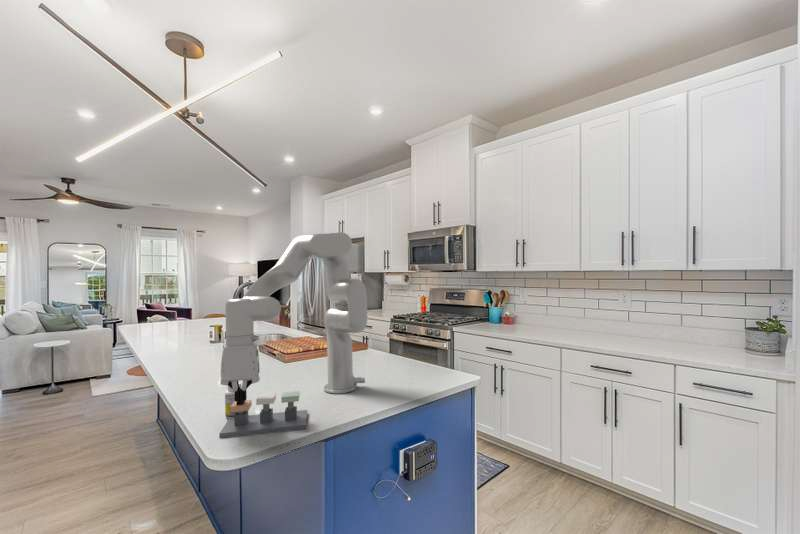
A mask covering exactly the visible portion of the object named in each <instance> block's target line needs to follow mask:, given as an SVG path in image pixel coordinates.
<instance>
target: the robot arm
mask: <svg viewBox="0 0 800 534" xmlns="http://www.w3.org/2000/svg"><path fill="white" fill-rule="evenodd" d="M352 248H353V241H352V239H351V237H350V236H349V234H347V233H346V232H330V233H329V232H327V233H312V234H310V233H309V234H303V235H302V234H301V235H299V236H296V237H294V239H292V241H291V242H290V243H289V245H288V246H287V247H286V249H285V251H284V252H283V254H281V257H279V259H278V260H277V262H276V263H275V265H274V266H273V267H271V268H270V269H269V270H267V271H266V272H265V273H264V274H263V275H261V276H260V277H259V278H257V280H255V281H254V282H253V283H252V284H251V285H250V286H249V288H248V289H247V290H246V292H245V294H244V295H243V297H242V298H231V299H228V300H227V301H226V302H225V345H224V346H223V349H222V354H221V362H220V385H222V386H227V387H228V386H229V387H231V388H232V389H233V391H235V401H237V405H239V404H241V405H243V403H244V402H245V401H246V400H248V398H247V389H248V388H249V387H250V386H251V385H252V384H256V383H259V382H260V381H261V377H260V370H261V369H260V355H259V349H258V344H257V342H256V341H259V340H260V336H259V335H255V332H254V328H255V327H254V326H255V325H254V322H270V321H274V320H275V319H276V318H278V317H279V315H280V314H281V312H282V306H281V305H282V304H281V303H280V301H279V300H278V299H276V298H275V297H272V296H271V295H272V294H274V293H275V292H277V291H278V290H280V289H282V288H285V287H287V286H289V285H291V284H293V283H294V282H296V281H297V280H298V279H299V278H300V276H301V274H302V273H303V271H304V270H305V268H306V266H307V265H308V263H309V262H310V261H311V260H316V259H320V260H321V261H322V262H323V264H324V266H325V267H324V268H325V275H326V277H325V278H326V294H327V295H326V296H327V299H328V300H329V301H330V302H331V303H334V304H347V306H333V307H330V308H328V310H327V311H326V312H325V313H324V316H323V324H324V329H325V333H326V343H327V345H326V346H327V347H326V348H327V349H326V350H327V352H326V353H327V354H326V355H327V384H325V385H324V386H323V391H324V392H326V393H329V394H335V395H336V394H346V393H350V392H354V391H355V390H356V389H357V388H358V385H357V384H365V383H366V379H365V377H361V376H358V377H355V376H354V370H353V369H354V368H353V367H354V366H353V340H352V337H351V335H350V334H351V333H353V334H359V333H362V332H363V331H364V330H365V329H366V328H367V324H368V299H367V297H368V295H367V293H368V292H367V287H366V286H365V284H364V282H363V281H362V280H360V279H358V278H350V277H349V265H348V261H347V260H346V258H345V257H344V256H346V255H349V253H350V252H351V251H352ZM255 342H256V343H255ZM240 381H242V383H241V388H240V387H239V382H240Z"/></svg>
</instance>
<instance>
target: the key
mask: <svg viewBox="0 0 800 534" xmlns="http://www.w3.org/2000/svg"><path fill="white" fill-rule="evenodd" d="M252 405H253V403H252V399H246V401H245V402H244V403H243V405H241V404H239V405H237V401H234V403H233V404H232V405H231V412H238V415H240V414H245V411H248V412H249V410H250V408H251V406H252Z"/></svg>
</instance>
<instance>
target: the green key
mask: <svg viewBox="0 0 800 534" xmlns="http://www.w3.org/2000/svg"><path fill="white" fill-rule="evenodd" d="M299 401H300V390H294V391H284V392H282V395H281V404H282V403H287V407H288V410H294V406H295V403H297V402H299ZM294 402H295V403H294Z"/></svg>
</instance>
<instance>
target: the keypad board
mask: <svg viewBox="0 0 800 534" xmlns="http://www.w3.org/2000/svg"><path fill="white" fill-rule="evenodd" d="M307 419H308V409H303V410H302V409H301V410H298V405H294V410H288V406H285V409H284V411H283V412H282V411H281V412H274V409H273V407H271V408H270V411H269V412H263V408H261V409H260V412H259V414H249V411H245V414H240V415H238V412H236V414H235V415H234V417H230V418H229V419H228V420H227V421H226V423H225V424H224V426H223V427H222V429H221V430H220V432H219V433H218V434H219V439H221V438H222V439H223V438H230V437H232V438H233V437H239V436H249V435H251V436H252V435H261V434H262V435H263V434H270V433H278V431H281V432H289V431H288V430H290V431H298V430H300V431H301V430H306V427H307V422H306V421H308V420H307Z"/></svg>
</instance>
